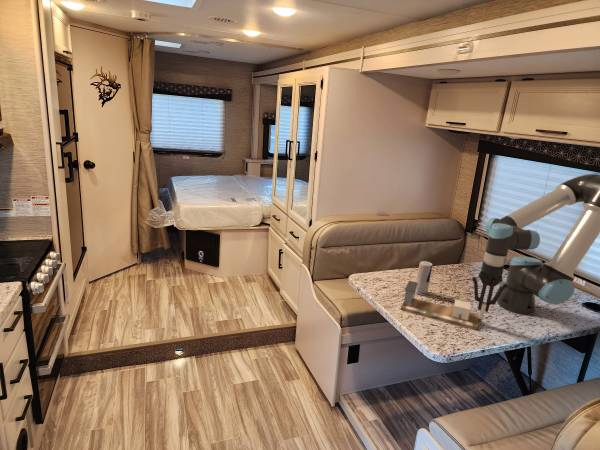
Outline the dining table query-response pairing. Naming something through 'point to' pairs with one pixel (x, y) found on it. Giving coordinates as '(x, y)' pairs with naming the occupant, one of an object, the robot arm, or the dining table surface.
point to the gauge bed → (440, 313)
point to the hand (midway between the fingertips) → (480, 317)
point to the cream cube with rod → (461, 310)
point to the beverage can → (423, 277)
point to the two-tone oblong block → (410, 293)
